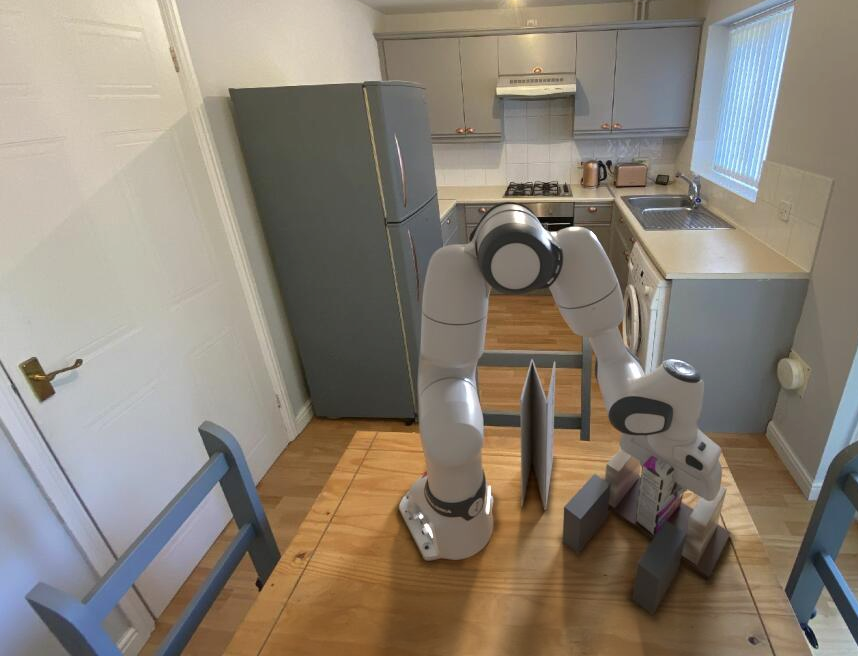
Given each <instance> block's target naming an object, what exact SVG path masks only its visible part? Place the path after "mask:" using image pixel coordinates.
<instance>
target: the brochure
mask: <svg viewBox="0 0 858 656" xmlns="http://www.w3.org/2000/svg"><path fill="white" fill-rule="evenodd" d="M530 359H531V360H530V363H529V366H528V371H527V373H526V377H525V381H524V383H523V388H522V391H521V395H520V399H519V408H520V410H519V412H520V413H519V416H520V484H521V485H520V490H521V493H520V495H521V496H520V497H521V499H520V500H521V507H523V506H524V502H525V498H526V493H527V487H528V484H529V483H528V482H529V477H530V472H531V467H532V465H533V469H534V473H535V477H536V481H537V486H538V490H539V494H540V498H541V502H542V506H543V509H544V510H543V511H547V505H548V497H549V490H550V483H551V476H552V469H553V462H554V434H555V433H554V431H555V430H554V429H555V398H556V397H555V396H556V395H555V393H556V361H555V360H554V361H553V366H552V372H551V377H550V381H549V386H548V392H547V396H546V393H545V390H544V388H543V385H542V382H541V380H540V376H539V373H538V371H537V367H536V364H535V362H534V359H533V358H530Z"/></svg>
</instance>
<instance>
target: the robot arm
mask: <svg viewBox="0 0 858 656" xmlns="http://www.w3.org/2000/svg"><path fill="white" fill-rule="evenodd" d="M468 239H469V242H468V243H466V244H465V243H464V244H461V243H460V244H459V243H456V244H447V245H445V246H442V247H440V248H438V249H437V250H435V251H434V252H433V254H432V255H431V256H430V258H429V260H428V265H427V269H426V272H425V273H426V274H425V278H424V283H423V290H422V299H421V316H420V318H421V319H420V343H419V344H420V345H419V357H418V368H417V369H418V370H417V382H416V384H417V385H416V388H417V389H416V390H417V409H418V413H417V414H418V430H419V436H420V443H421V448H422V453H423V455H424V461H425V469H426V470H424V471H423V472H422V473H421V475H420V476H419V477H418V478H416V480H414V482H413V483H412V484H411V486H410V487H409V489H408V491H407V492H406V493H405V495H404V496H403V497H402V499H401V500H400V502H399V504H398V510H399V512H400V514H401V517H402V519H403V520H404V522H405V525H406V526H407V528H408V530H409V532H410V534H411V536H412V538H413V540H414V542H415V544H416V546H417V548H418V550H419V552H420V554H421V556H422V558H423V559H424V560H425V561H426V562H427V561H429V562H431V561H435V560H439V559H445V560H453V561H458V560H465V559H467V558H471V557H473V556H475V555H477V554H478V553H479V552H480V551H482V550H483V549H484V548H485V547H486V546H487V545H488V543H489V541H490V540H491V537H492V535H493V532H494V524H495V522H494V516H493V507H494V503H495V502H494V496H493V495H492V494H491V485H488V481H487V477H486V474H485V470H484V468H483V454H482V449H483V446H484V435H485V433H484V432H485V428H484V427H485V426H484V425H485V424H484V415H483V411H482V408H481V403H480V399H479V393H478V388H477V382H476V370H477V365H478V362H479V360H480V358H481V357H482V356H483V354H484V351H485V341H486V332H487V321H488V312H489V299H490V293H491V290H492V289H494V290H495V291H497V292H499V293H501V294H504V295H509V296H510V295H512V296H513V295H514V296H515V295H518V296H519V295H523V294H524V295H525V294H528V293H531V292H534V291H537V290H543V289H549V290H550V291H549V292H550V293H551V295H552V298H553V300H554V302H555V304H556V307H557V309H558V311H559V314H560V315H561V317H562V319H563V320H564V323H566V325H567V326H568V328H569V329H570V330H571V332H572V333H573V334H574V335H577V336H580V337H583V338H588V340H589V343H590V346H591V348H592V350H593V352H594V354H595V355H594V356H595V361H594V362H595V363H594V378H595V380H596V383H597V385H598V387H599V391H600V394H601V397H602V401H603V404H604V407H605V411H606V414H607V417H608V420H609V423H610V425H611V426H612V427H613V428H614V429H615V430H616V431H618V432H620V433H621V434H620V438H619V443H618V446H619V447H620V449H622V450H623V451H624V452H626V453H628V454H629V455H631V456H633V457H634V458H636V459H638V460H639V461H640V465H641V466H640V468H642V465H643V464H644V463H645V462H646V461H647V460H648V459H649V458H650V457H651V456H654V457H656V458H658V459H660V460H661V461H663V462H665V463H667V464H668V465H670V466H672V467H673V468H674V472H673V478H672V480H673V481H675V482H677V483H678V484H680V485H678V484H677V485H676V487H674V489H673V495H674V496H676V497H677V498H679V499H680V497H681V496H682V494H683V495H684V493H686V492H687V491H690V492H692V493H693V494H695V495H696V496H698V497H699V498H701V497H702V498H703V499H705V500H707V501H712V500H714V499H715V498H716V496H717V494H718V492H719V490H720V486H722V477H723V468H722V464H721V462H720V460H719V459H720V457H721V454H722V448H721V447H720V446H719V445H718V444H717V443H716V442H714V441H713V440H712V439H710V438H709V437H708V436H707V435H706V434H704V432H702V430H700V428H699V425H698V421H699V419H700V417H701V415H702V411H703V405H704V398H705V396H704V395H705V383H704V378H703V377H702V375H701V373H700V372H699V371H698V370H697V369H696V368H695V367H694V366H693V365H690V364H689V363H687V362H685V361H682V360H679V359H674V358H673V359H672V358H671V359H666V360H664V361H662V362H661V364H659V366H658V367H657V368H655V369H653V370H652V371H651V372H648V373H645V370H644V368H643V367H644V366H643V365H642V362H641V360H640V358H639V357H638V356H637V355H636V354H635V353H634V352H633V351H632V350H630V349H629V348H628V347H627V346H626V344H625V342H624V339H623V337H622V334H621V332H620V329H619V326H620V324H622V322H623V320H624V318H625V316H626V311H625V302H624V299H623V298H624V297H623V293H622V289H621V285H620V283H619V280H618V277H617V274H616V272H615V269H614V267H613V264H612V263H611V260H610V259H609V257H608V255H607V252H606V251H605V249H604V247H603V246H602V244H601V242H600V241H599V239H598V238H597V236H596V235H595V234H594V232H593V231H591V230H590V229H588V228H586V227H583V226H569V227H565V228H562V229H559V230H557V231H549V230H546V229H545V228H544V227H543V225H542V224H541V221H540V220H539V219H538V217H537V215H536V214H535V213H534V212H533V210H531V209H530V208H529V207H528V206H526V205H524V204H522V203H520V202H517V201H503V202H500V203H497V204H495V205H493V206H492V207H490V208H489V209H488V210H487V211H486V212H485V213H484V214H483V216H482V217H481V218H480V220H479V221H478V223H477V225H476V226H475V227H474V229H473V230H472V231H471V232H470V235H469V238H468Z"/></svg>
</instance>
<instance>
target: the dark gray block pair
mask: <svg viewBox="0 0 858 656" xmlns="http://www.w3.org/2000/svg"><path fill="white" fill-rule="evenodd" d="M610 486H611V484H610V483H609V482H607V481H605V478H603V477H601V476H600V475H598V474H597V473H593V475H592V476H591V477H590V478H589V479H588V480H587V481H586V482H585V483H584V484H583V486H582V487H581V488H579V490H578V491H577V492H576V493H575V494H574V495H573V496H572V498H570V500H569V501H568V502H566V504H565V505H564V506H563V520H562V521H563V523H562V541H563V542H564V543H565V544H566V545H567V546H568V547H570V549H572V550H573V551H574V552H576V553H577V554H579V553H581V551H582V550H583V548H584V547H585V546H586V545H587V543H588V542H589V541H590V539H592V537H593V536H594V535H595V533H596V532H597V531H598V530H599V528H600V527H601V526H602V524H604V522H605V521H606V519H607V518H608V515H609V510H608V506H609V496H610ZM685 537H686V533H684V532H683V531H681V530H680V529H678V528H677V527H675V526H674V525H672V524H671V523H669V522H668V521H666V520H665V522H664V523H663V525H662V527H661V528H660V530H659V531H658V533H657V534H656V536H655V537H654V539H653V540H652V541H651V542H650V543H649V545H648V547H647V548H646V549H645V551H644V552H643V554H642V556H641V557H640V558H639V560H638V562H637V565H636V572H635V578H634V579H635V580H634V584H633V592H632V596H631V597H632V598H631V599H632V600H633V601H635V602H636V604H638V605H639V606H641V607H642V608H643V609H644V610H645V611H647V612H648V613H649V614H650V615H651V616H654V614H655V612H656V610H657V609H658V607H659V605H660V603H661V601H662V600H663V598H664V596H665V594H666V592H667V590H668V589H669V587H670V585H671V583H672V582H673V580H674V578H675V576H676V574H677V572H678V571H679V569H680V565H681V561H680V560H681V556H682V551H683V546H684V542H685Z"/></svg>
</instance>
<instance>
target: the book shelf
mask: <svg viewBox="0 0 858 656" xmlns="http://www.w3.org/2000/svg"><path fill="white" fill-rule="evenodd" d="M640 472H641V465H640V461H639V460H638V459H636V458H634V457H633V456H631V455H629V454H628V453H626V452H624V451H623V450H622V449H621V448H620V449H618V451H617V452H615V454H614V455H613V456H612V457H611V458H610V459H609V461H608V462H607V463H606V466H605V476H604V480H605V481H607V482H609V483H610V484H611V486H610V496H609V506H608V512H611V513H612V514H613V515H614V516H616V517H617V518H619V519H620V520H622V521H623V522H625V523H626V524H627V525H628V526H630V527H631V528H633V529H634V530H636V531H637V532H638V533H640V534H641V535H643V536H644V537H645V538H647V539H648V540H650V541H651V542H652V540H653V539H654V537H655V536H656V535H653V534H652V533H651V532H649V531H648V530H647V529H646V528H645V527H643V526H642V525H641V524H639V523H638V522H637V521H636V515H637V507H638V498H639V491H640V481H641V475H640V474H641V473H640ZM726 494H727V488H726V487H725V486H723V485H721V486H720V490H719V492H718V494H717V496H716V498H715V499H714V500H712V501H707V500H705V499H703V498H702V497H700V499H699V500H698V502H697V504H696V505H695V507H694V508H692V507H690V506H689V505H687V504H685V503H684V502H681V505H680V506H679V507H678V508H677V510H676V511H675V512H674V513H673V514H672V516H671V517H670V518H669V519H668V520H667V521H668V522H669V523H671V524H672V525H674V526H675V527H677V528H678V529H680V530H681V531H683V532H684V533H686V537H685V542H684V546H683V551H682V556H681V560H680V563H682V564H683V565H685V566H686V567H688V568H689V569H690V570H692V571H693V572H695V573H696V574H698V575H699V576H700V577H702V578H703V579H704V580H706V581H709V580H710V579H711V576H712V574H713V572H714V570H715V568H716V566H717V563H718V561H719V559H720V557H721V556H722V553H723V551H724V549H725V547H726V545H727V544H728V543H727V542H728V540H729V539H730V536H731V534H732V533H731V531H729V530H728V529H726V528H725V527H723V526H721V525H720V524H719V521H720V518H721V513H722V509H723V506H724V501H725V498H726ZM657 533H658V532H657Z"/></svg>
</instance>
